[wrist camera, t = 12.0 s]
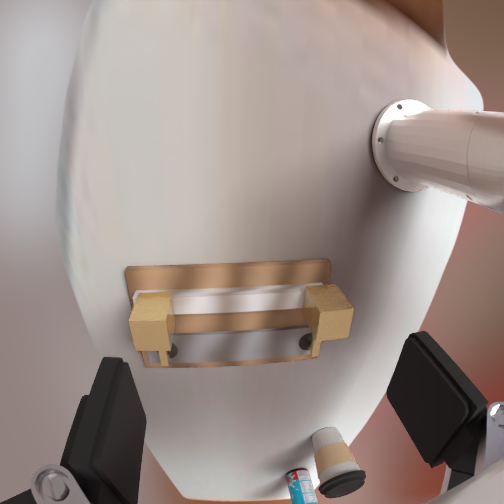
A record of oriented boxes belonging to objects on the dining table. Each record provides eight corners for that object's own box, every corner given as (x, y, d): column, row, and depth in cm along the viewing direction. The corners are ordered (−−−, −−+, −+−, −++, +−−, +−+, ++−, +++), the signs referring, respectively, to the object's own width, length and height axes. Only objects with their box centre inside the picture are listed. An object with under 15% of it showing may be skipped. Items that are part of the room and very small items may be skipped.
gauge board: (328, 259, 40) (336, 269, 37) (314, 353, 46) (320, 366, 43) (127, 266, 37) (121, 277, 34) (146, 362, 42) (143, 376, 40)
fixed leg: (332, 280, 38) (354, 308, 32) (322, 344, 42) (338, 376, 36) (303, 282, 38) (320, 312, 31) (296, 348, 42) (309, 381, 35)
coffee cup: (312, 450, 58) (329, 502, 44) (296, 434, 54) (314, 494, 40) (349, 432, 57) (372, 484, 43) (338, 415, 53) (363, 473, 40)
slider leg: (172, 288, 36) (165, 320, 30) (181, 354, 40) (178, 390, 33) (140, 289, 35) (128, 320, 29) (153, 354, 39) (146, 390, 33)
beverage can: (283, 471, 60) (295, 520, 47) (306, 465, 61) (321, 513, 47) (287, 479, 63) (298, 525, 49) (309, 473, 63) (323, 518, 49)
